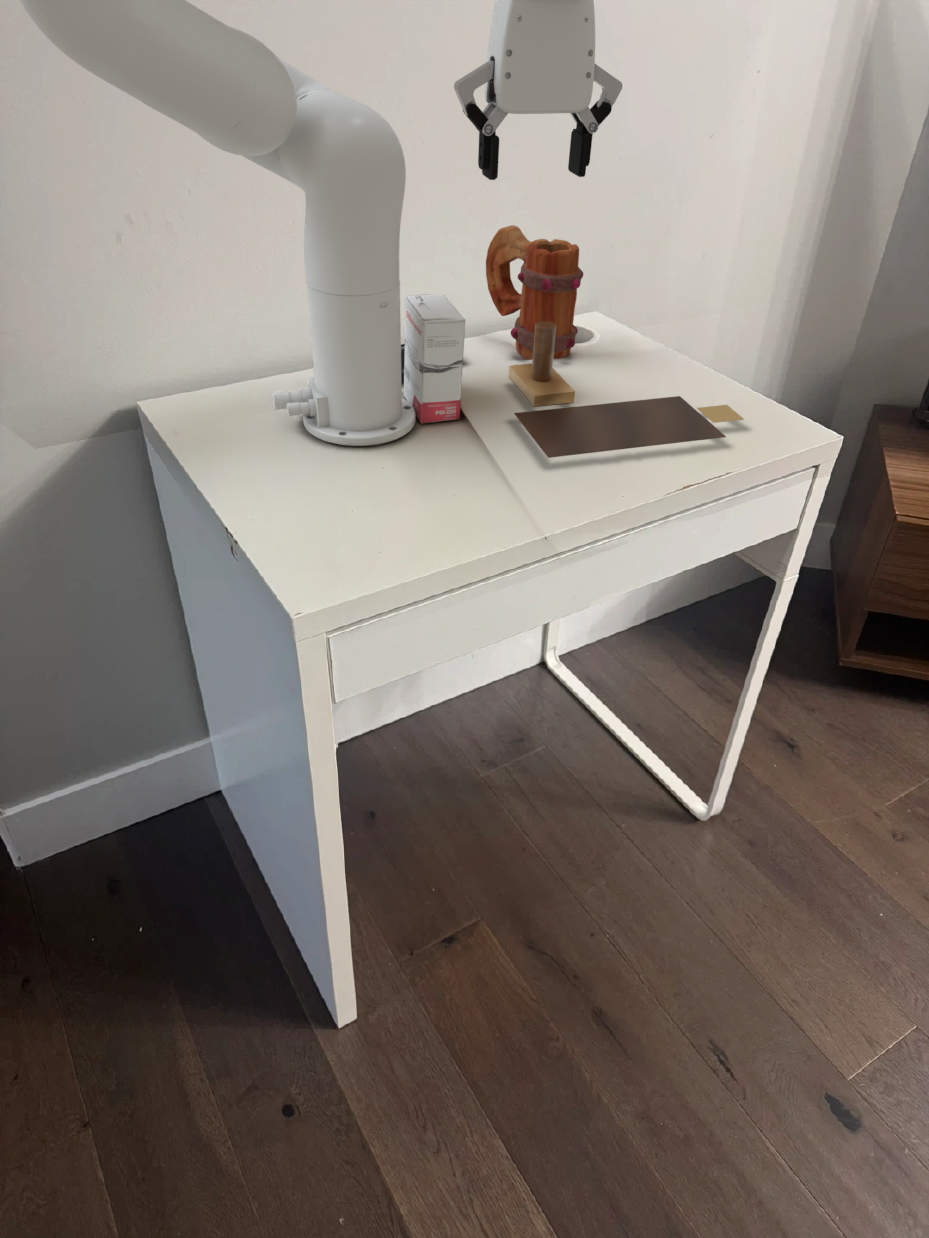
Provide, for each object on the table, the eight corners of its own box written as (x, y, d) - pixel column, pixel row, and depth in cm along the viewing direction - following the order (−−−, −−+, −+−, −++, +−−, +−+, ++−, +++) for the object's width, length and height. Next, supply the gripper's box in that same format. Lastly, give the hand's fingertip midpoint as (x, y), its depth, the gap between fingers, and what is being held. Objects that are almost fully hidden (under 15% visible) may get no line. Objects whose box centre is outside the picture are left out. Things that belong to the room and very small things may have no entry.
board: (547, 467, 92) (548, 457, 92) (513, 422, 101) (513, 412, 100) (724, 446, 97) (726, 436, 97) (678, 405, 106) (679, 395, 105)
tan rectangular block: (711, 432, 100) (713, 422, 99) (694, 417, 103) (696, 407, 102) (742, 428, 101) (744, 419, 100) (724, 414, 104) (726, 404, 103)
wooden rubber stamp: (532, 416, 102) (539, 340, 96) (507, 385, 109) (512, 313, 103) (572, 412, 103) (581, 337, 98) (545, 382, 110) (551, 310, 104)
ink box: (463, 421, 101) (466, 317, 93) (420, 425, 99) (420, 320, 92) (442, 390, 107) (444, 291, 100) (402, 394, 106) (401, 294, 98)
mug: (590, 359, 116) (604, 239, 107) (551, 376, 111) (562, 252, 102) (507, 329, 124) (513, 216, 115) (467, 344, 119) (471, 226, 110)
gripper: (617, -28, 86) (595, 166, 96) (446, -32, 82) (443, 170, 92) (651, -24, 80) (624, 181, 91) (470, -28, 76) (464, 187, 87)
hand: (533, 175), depth 92 cm, fingers open, 9 cm apart
